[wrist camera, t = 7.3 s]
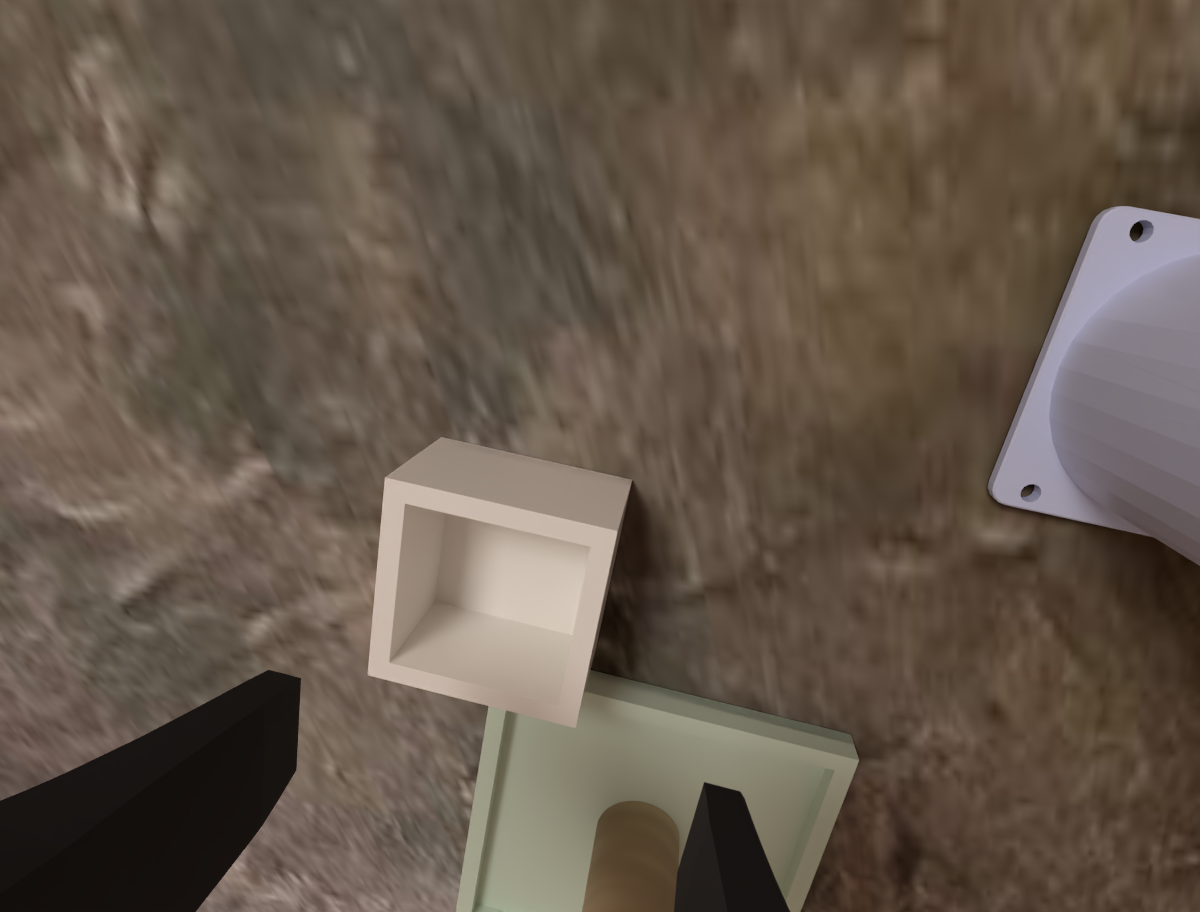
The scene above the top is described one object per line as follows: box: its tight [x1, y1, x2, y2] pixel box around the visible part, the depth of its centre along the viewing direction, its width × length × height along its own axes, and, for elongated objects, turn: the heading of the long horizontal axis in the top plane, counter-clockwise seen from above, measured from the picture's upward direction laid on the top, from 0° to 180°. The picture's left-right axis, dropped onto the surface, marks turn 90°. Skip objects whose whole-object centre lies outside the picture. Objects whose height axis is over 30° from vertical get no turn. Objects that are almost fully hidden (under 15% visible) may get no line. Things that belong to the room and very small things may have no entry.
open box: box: [368, 437, 632, 728], centre depth 20 cm, size 6×6×4 cm
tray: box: [456, 670, 859, 912], centre depth 24 cm, size 12×12×1 cm
